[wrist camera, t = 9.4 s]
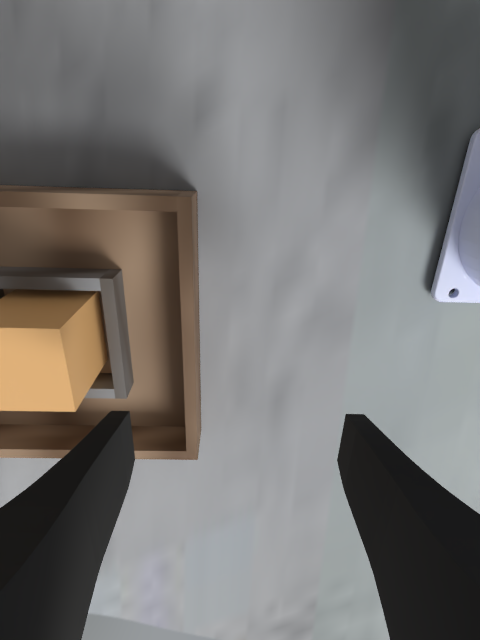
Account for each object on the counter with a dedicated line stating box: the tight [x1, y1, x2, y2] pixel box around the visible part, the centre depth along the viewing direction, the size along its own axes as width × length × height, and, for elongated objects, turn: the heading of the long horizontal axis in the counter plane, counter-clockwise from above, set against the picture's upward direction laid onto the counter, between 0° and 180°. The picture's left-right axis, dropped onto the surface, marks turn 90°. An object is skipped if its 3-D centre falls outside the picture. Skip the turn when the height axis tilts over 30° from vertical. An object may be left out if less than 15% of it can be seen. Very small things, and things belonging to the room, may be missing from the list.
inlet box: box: [0, 185, 201, 460], centre depth 19 cm, size 14×14×2 cm
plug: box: [0, 289, 108, 412], centre depth 17 cm, size 4×4×4 cm
